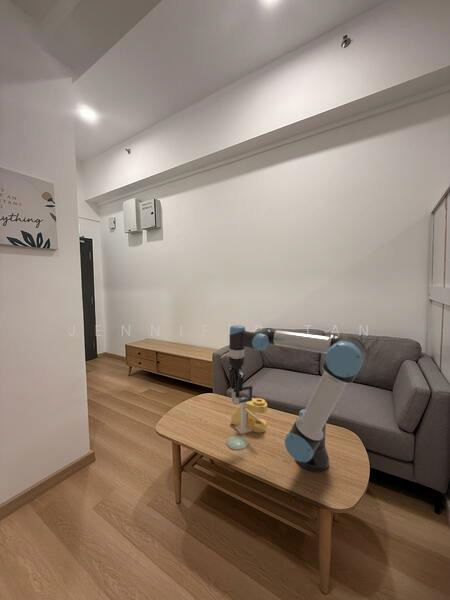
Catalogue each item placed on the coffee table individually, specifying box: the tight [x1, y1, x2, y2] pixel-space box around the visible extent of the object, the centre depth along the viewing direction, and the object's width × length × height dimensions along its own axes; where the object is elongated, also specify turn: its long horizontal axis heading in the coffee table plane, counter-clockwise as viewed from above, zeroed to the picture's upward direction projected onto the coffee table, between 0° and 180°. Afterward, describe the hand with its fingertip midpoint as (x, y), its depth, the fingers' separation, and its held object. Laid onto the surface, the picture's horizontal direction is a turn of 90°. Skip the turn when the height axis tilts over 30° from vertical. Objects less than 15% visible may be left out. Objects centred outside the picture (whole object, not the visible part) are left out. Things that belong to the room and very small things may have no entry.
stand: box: [234, 402, 260, 435], centre depth 134 cm, size 20×7×18 cm, turn 25°
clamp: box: [230, 397, 268, 434], centre depth 144 cm, size 20×9×16 cm, turn 58°
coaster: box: [226, 434, 249, 451], centre depth 128 cm, size 11×11×1 cm
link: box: [232, 384, 253, 405], centre depth 126 cm, size 2×10×8 cm, turn 114°
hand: (235, 401), depth 124 cm, fingers closed on link, 1 cm apart
